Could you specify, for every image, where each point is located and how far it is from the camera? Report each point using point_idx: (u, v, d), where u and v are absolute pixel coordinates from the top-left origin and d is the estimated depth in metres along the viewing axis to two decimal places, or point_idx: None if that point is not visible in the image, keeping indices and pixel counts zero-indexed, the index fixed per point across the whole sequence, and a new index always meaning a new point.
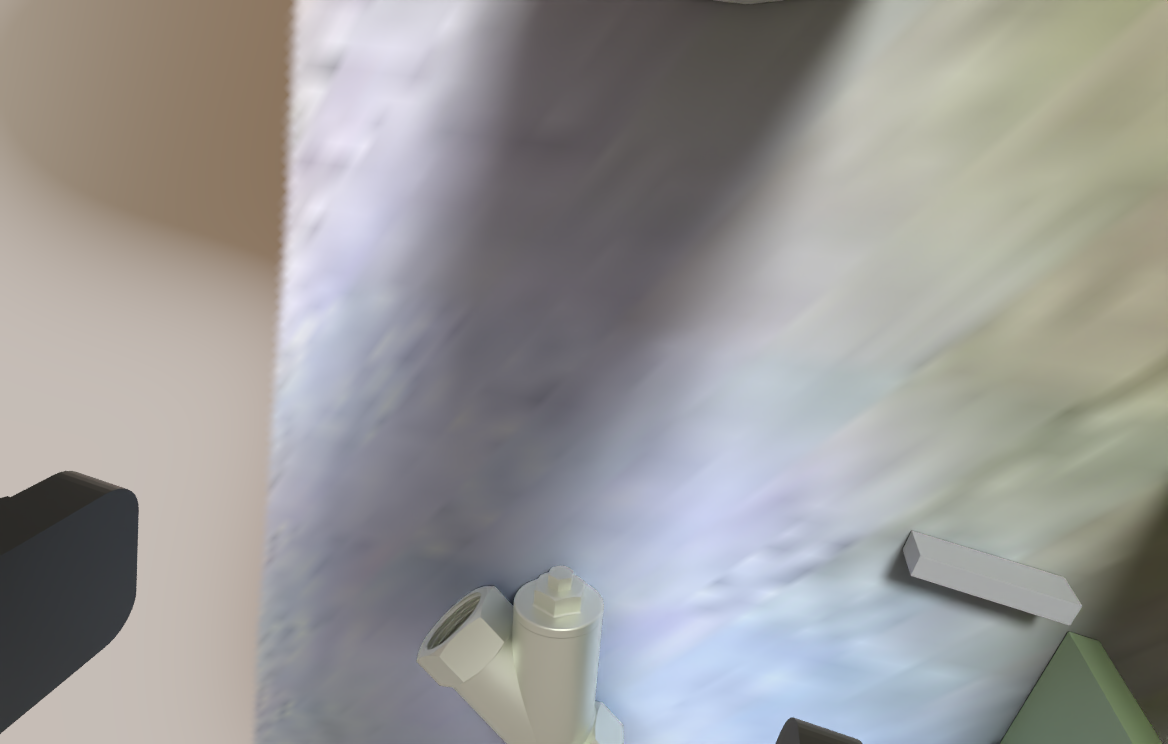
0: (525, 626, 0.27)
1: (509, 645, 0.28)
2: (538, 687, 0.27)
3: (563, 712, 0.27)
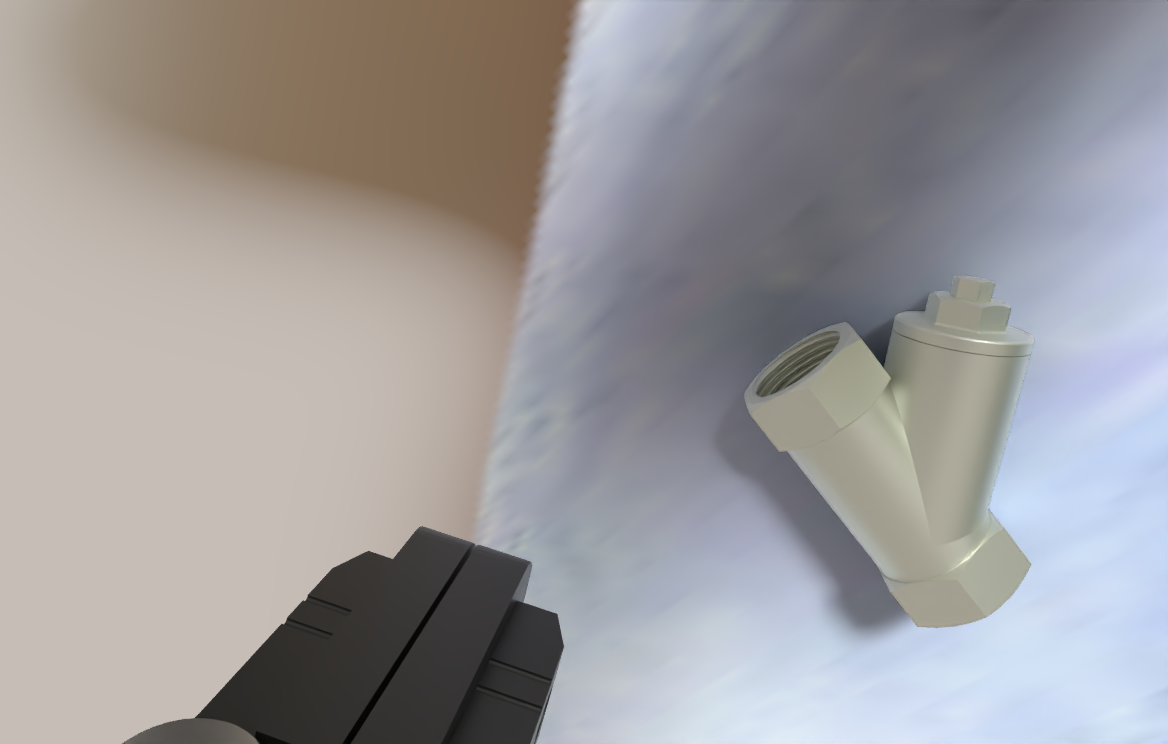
0: (937, 345, 0.19)
1: (890, 388, 0.20)
2: (947, 438, 0.19)
3: (976, 479, 0.19)
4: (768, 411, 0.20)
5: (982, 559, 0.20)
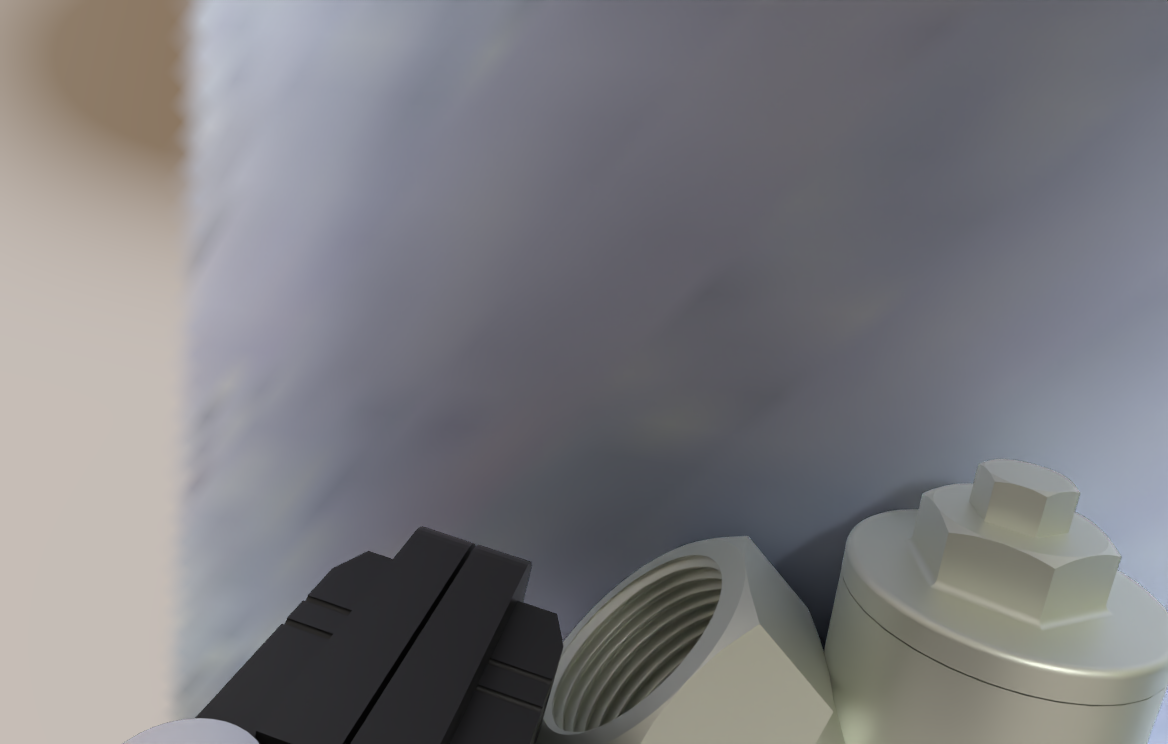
0: (941, 658, 0.07)
1: (833, 719, 0.09)
2: None
3: None
4: None
5: None
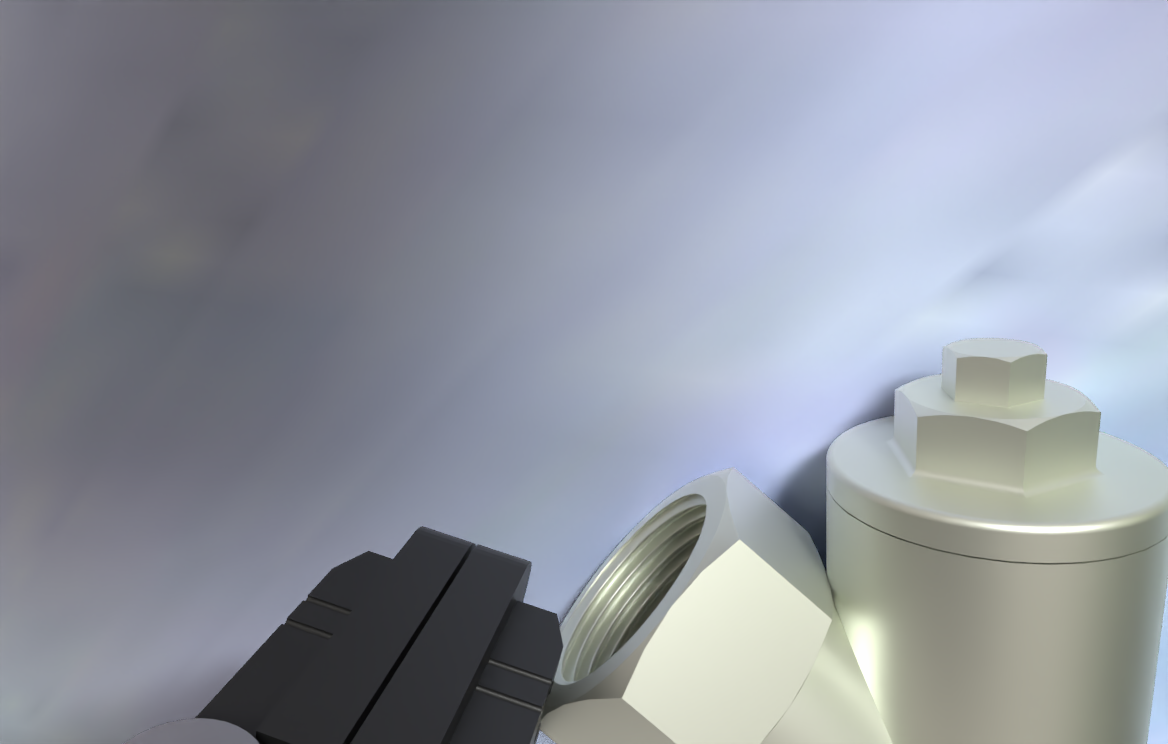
0: (926, 542, 0.07)
1: (838, 631, 0.08)
2: None
3: None
4: (564, 726, 0.08)
5: None
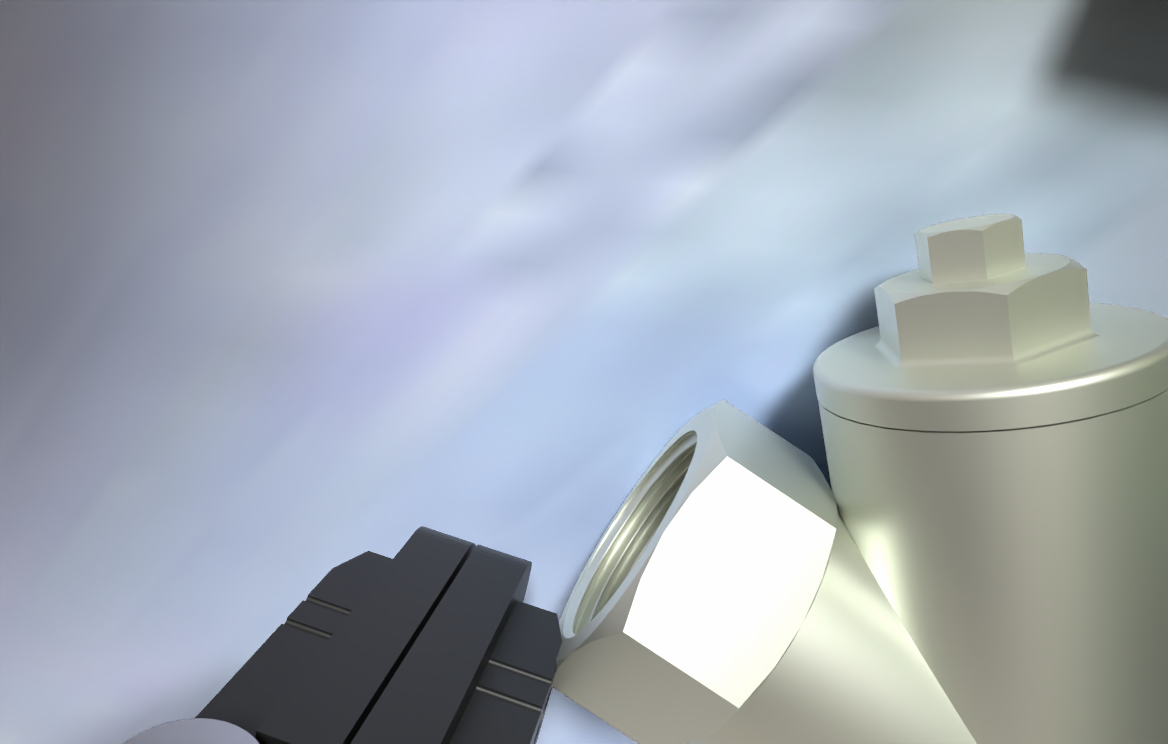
0: (918, 426, 0.07)
1: (848, 544, 0.08)
2: (1031, 656, 0.07)
3: (1150, 736, 0.07)
4: (577, 679, 0.08)
5: None
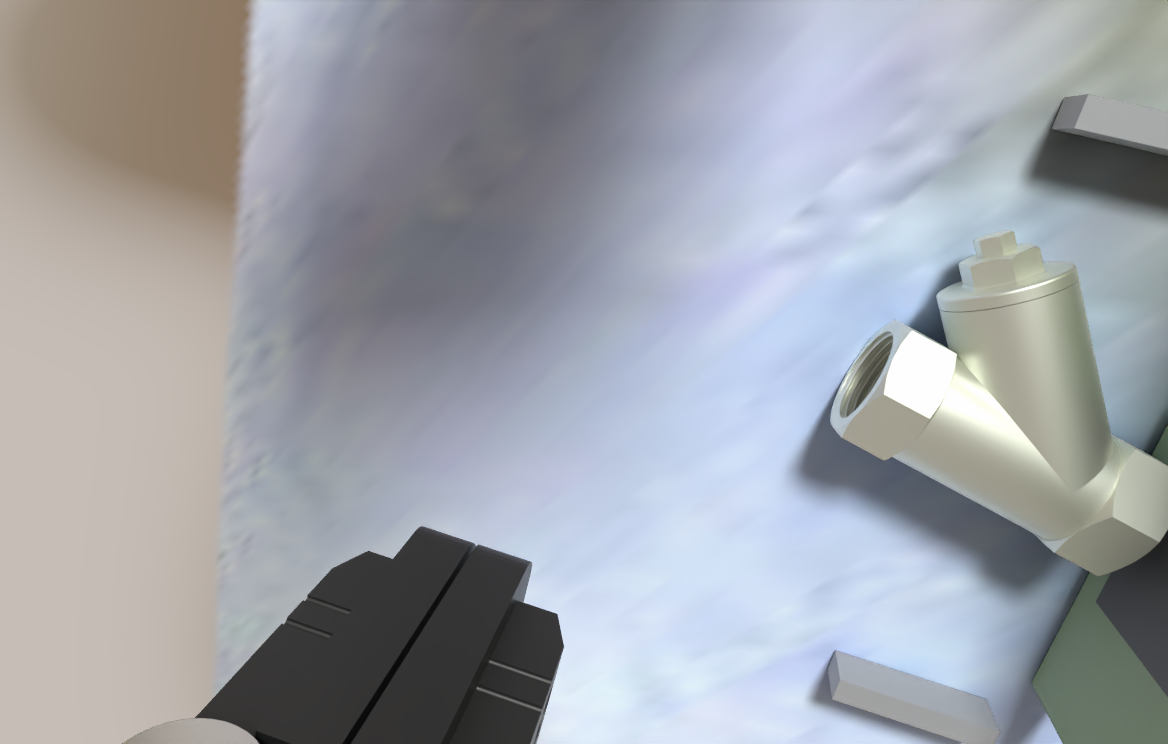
0: (985, 308, 0.19)
1: (960, 363, 0.20)
2: (1035, 387, 0.19)
3: (1084, 414, 0.19)
4: (856, 428, 0.20)
5: (1128, 487, 0.19)
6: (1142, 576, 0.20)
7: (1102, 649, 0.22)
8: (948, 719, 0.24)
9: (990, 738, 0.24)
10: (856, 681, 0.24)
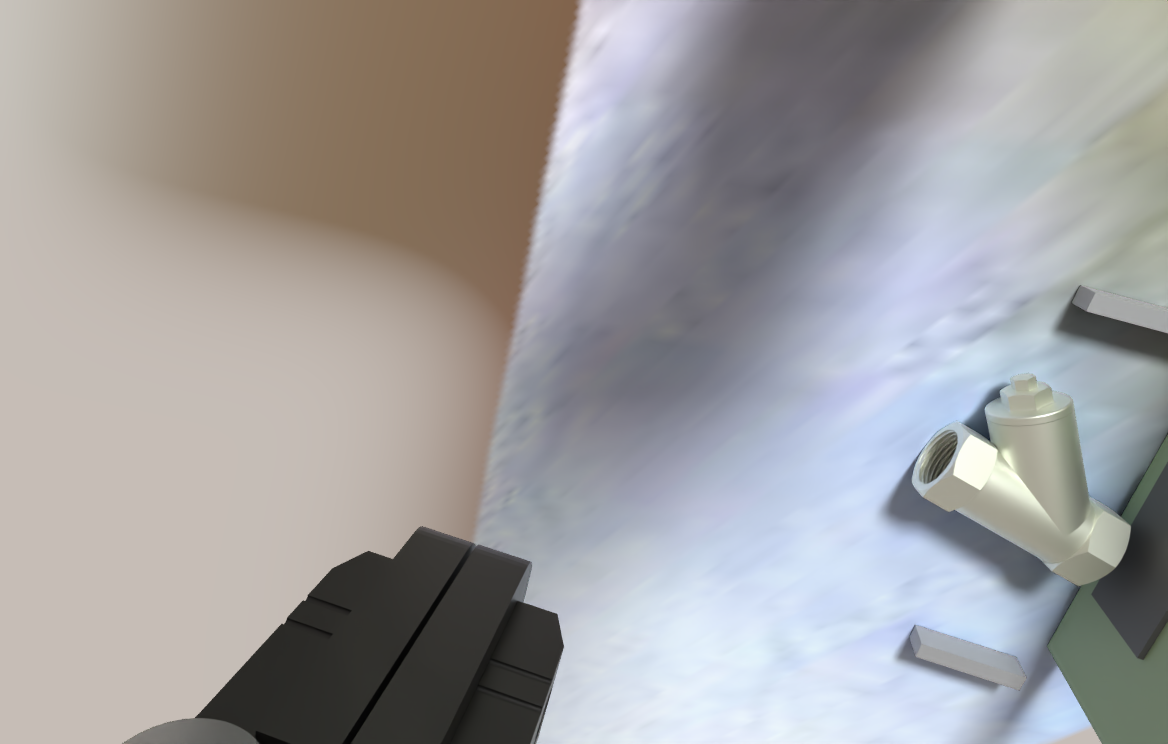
0: (1016, 425, 0.32)
1: (999, 454, 0.33)
2: (1045, 473, 0.32)
3: (1073, 490, 0.32)
4: (933, 492, 0.33)
5: (1098, 534, 0.32)
6: (1120, 579, 0.33)
7: (1094, 624, 0.34)
8: (992, 669, 0.37)
9: (1020, 681, 0.37)
10: (931, 644, 0.37)
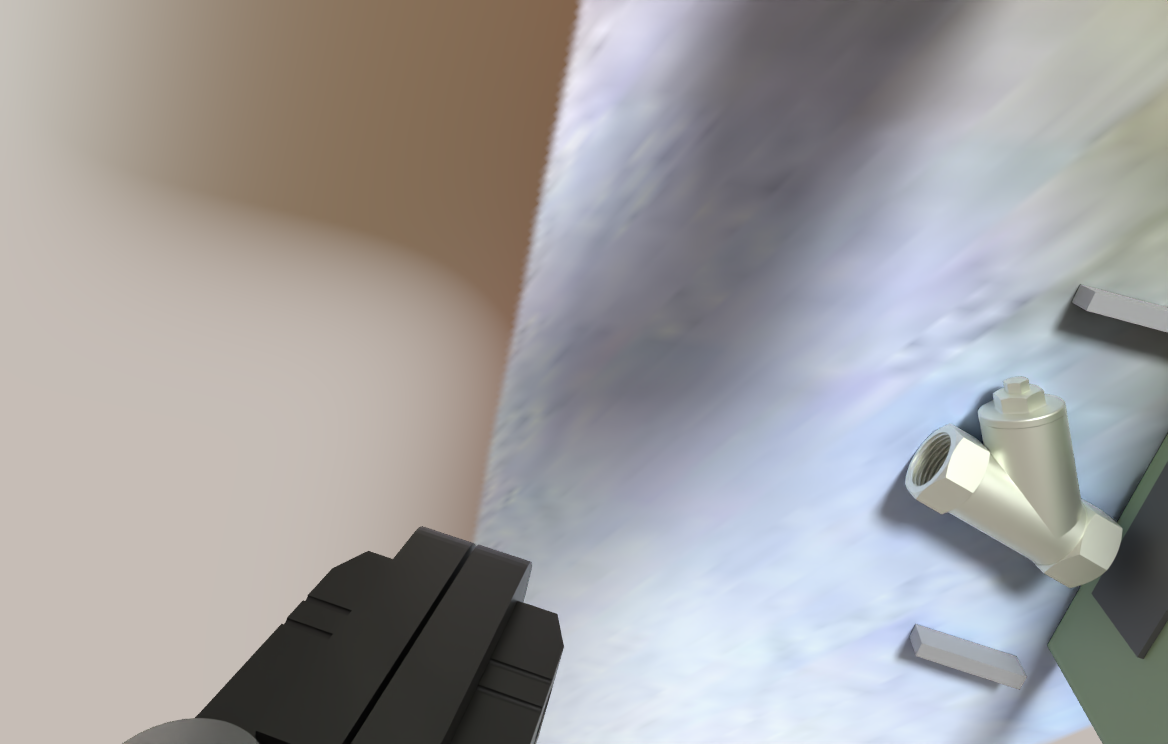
0: (1009, 428, 0.32)
1: (991, 457, 0.33)
2: (1037, 476, 0.32)
3: (1065, 492, 0.32)
4: (926, 494, 0.33)
5: (1090, 536, 0.32)
6: (1121, 579, 0.33)
7: (1094, 623, 0.34)
8: (993, 668, 0.37)
9: (1020, 681, 0.37)
10: (932, 644, 0.37)
